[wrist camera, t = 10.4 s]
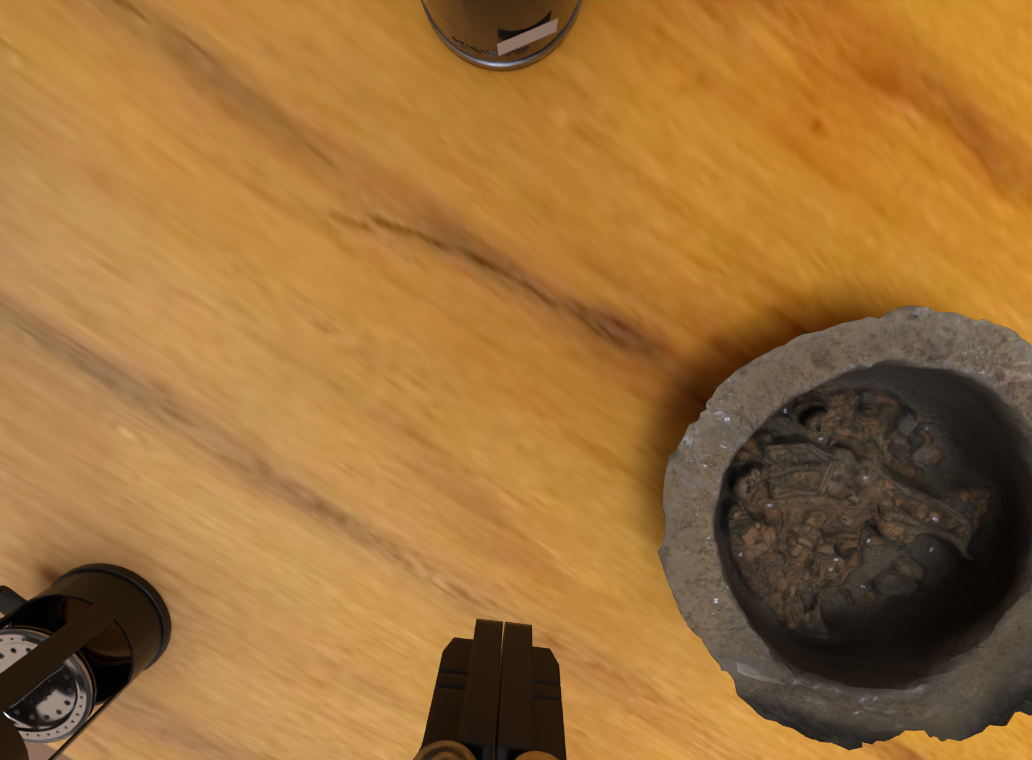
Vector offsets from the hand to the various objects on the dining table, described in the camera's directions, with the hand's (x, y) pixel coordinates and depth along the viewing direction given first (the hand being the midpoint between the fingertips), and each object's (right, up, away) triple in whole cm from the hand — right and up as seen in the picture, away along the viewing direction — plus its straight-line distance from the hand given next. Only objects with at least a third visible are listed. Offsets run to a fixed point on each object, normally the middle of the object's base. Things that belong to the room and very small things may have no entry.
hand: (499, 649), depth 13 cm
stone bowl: (+21, 0, +21) cm, 30 cm away
